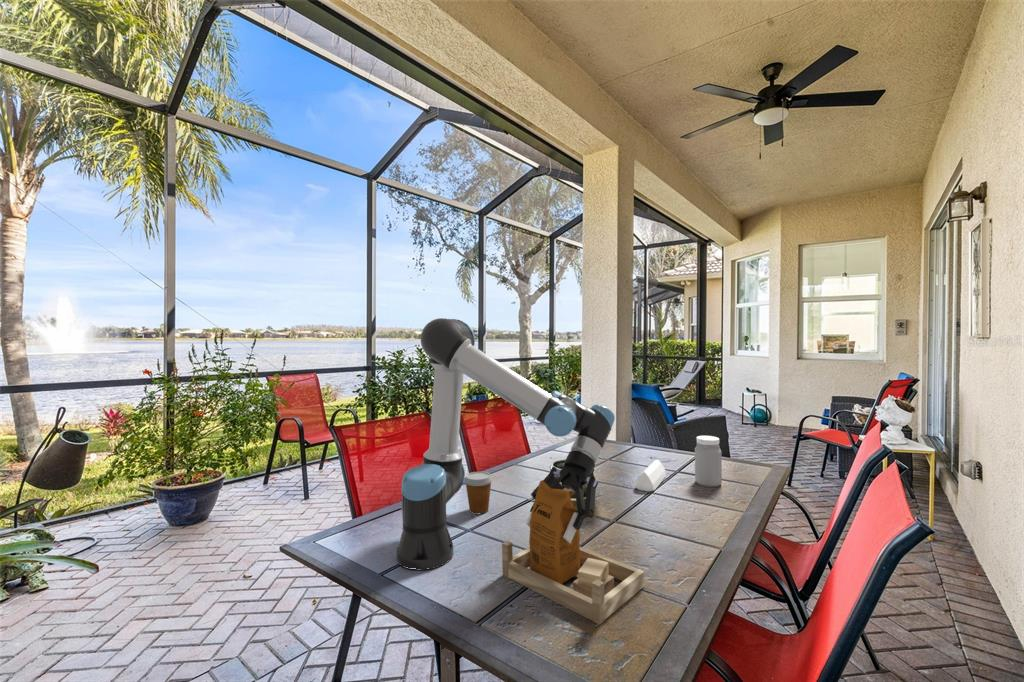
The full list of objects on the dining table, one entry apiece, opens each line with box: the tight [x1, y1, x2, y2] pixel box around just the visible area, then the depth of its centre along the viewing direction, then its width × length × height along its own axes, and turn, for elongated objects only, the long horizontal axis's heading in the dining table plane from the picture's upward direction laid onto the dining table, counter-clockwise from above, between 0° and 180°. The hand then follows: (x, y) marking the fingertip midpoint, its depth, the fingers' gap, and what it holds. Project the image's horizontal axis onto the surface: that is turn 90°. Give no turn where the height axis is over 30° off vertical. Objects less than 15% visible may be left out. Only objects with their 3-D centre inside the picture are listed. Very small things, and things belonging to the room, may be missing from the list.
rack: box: [501, 540, 646, 625], centre depth 109 cm, size 19×28×8 cm
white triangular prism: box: [634, 459, 667, 492], centre depth 180 cm, size 7×7×24 cm
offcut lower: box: [572, 575, 615, 598], centre depth 105 cm, size 8×6×3 cm
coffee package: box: [528, 479, 581, 585], centre depth 113 cm, size 10×12×22 cm
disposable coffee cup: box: [464, 471, 493, 514], centre depth 154 cm, size 10×10×12 cm
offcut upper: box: [577, 558, 609, 588], centre depth 105 cm, size 7×5×3 cm
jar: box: [694, 435, 723, 488], centre depth 177 cm, size 10×10×18 cm
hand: (547, 533), depth 111 cm, fingers closed on coffee package, 11 cm apart
